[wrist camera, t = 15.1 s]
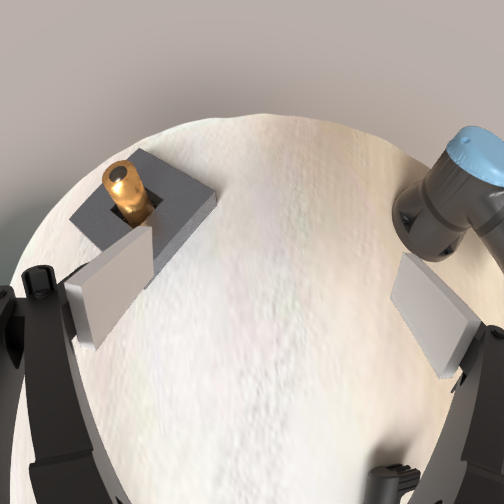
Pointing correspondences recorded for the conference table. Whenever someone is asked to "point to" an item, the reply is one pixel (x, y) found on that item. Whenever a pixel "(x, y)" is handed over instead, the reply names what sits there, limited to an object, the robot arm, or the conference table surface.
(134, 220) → the bushing
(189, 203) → the jig
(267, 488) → the conference table surface
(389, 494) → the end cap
